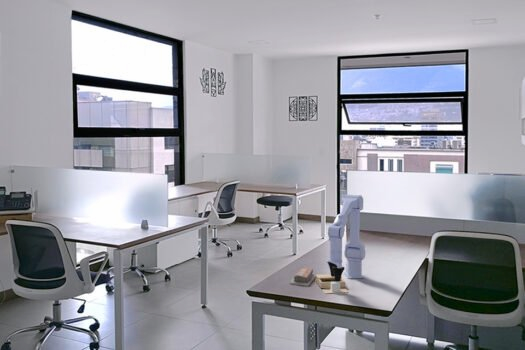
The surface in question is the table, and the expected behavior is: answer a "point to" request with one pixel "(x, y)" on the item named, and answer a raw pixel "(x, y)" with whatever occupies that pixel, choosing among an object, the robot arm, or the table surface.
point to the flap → (335, 288)
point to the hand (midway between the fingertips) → (335, 278)
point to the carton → (327, 281)
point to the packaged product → (303, 277)
